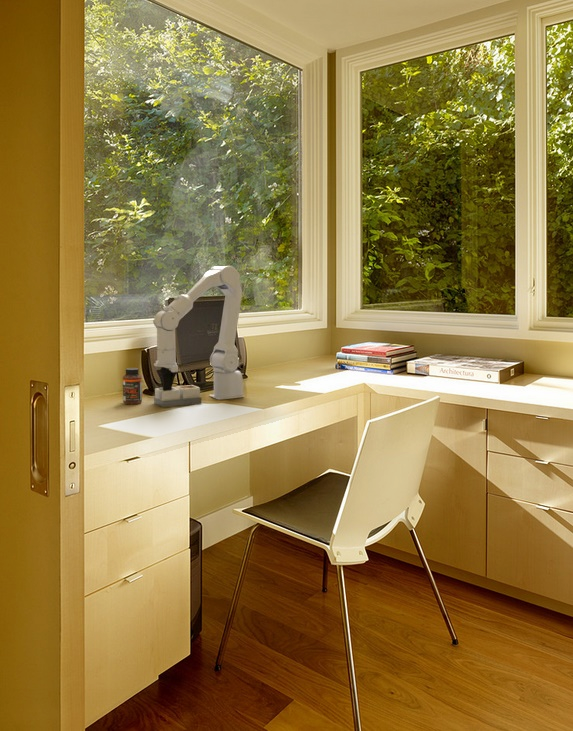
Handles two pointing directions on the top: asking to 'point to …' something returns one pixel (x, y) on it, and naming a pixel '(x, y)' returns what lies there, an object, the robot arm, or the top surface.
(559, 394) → the top surface
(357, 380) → the top surface
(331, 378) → the top surface
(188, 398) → the knob mount
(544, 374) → the top surface
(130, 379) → the supplement bottle
